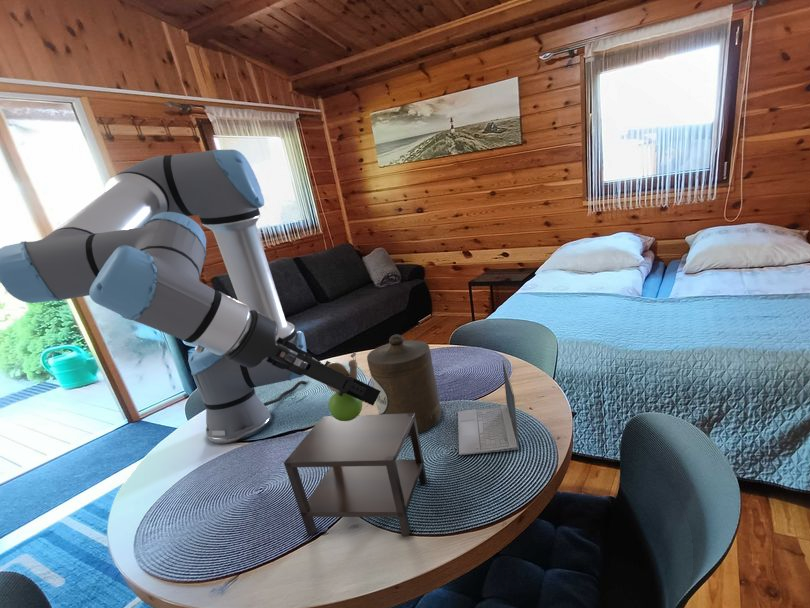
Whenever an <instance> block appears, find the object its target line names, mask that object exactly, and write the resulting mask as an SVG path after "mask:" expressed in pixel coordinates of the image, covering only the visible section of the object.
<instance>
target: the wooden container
mask: <svg viewBox="0 0 810 608" xmlns="http://www.w3.org/2000/svg"><path fill="white" fill-rule="evenodd" d="M388 342H389V343H386V344H383V345H380V346H378V347H376V348H374V349H372V350H371V351H370V352H369V353H367V356H366V358H367V359H366V361H367V366H368V370H369V373H370V379H371V383H372V387H373V388H375V389H378V390H380V391H381V392H380V394H379V396H378V398H377V399H376V401H375V403H376V407H377V411H378V415H379V414H405V413H415V418H416V424H417V429H418V434H419V433H423V432H425V431H429V429H431V428H433V427H434V426H436V425H437V424H438V423H439V421H440V420H441V419H442V409H441V408H442V407H441V403H440V395H439V390H438V385H437V379H436V375H435V371H434V370H435V369H434V364H433V360H432V353H431V348H430V346H429V344H428V343H427V342H425V341H421V340H405V338H404V336H402V335H400V334H398V333H397V334H393V335H391V336H390V338H389V339H388ZM407 436H410V431H409V433H408V435H407Z"/></svg>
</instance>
